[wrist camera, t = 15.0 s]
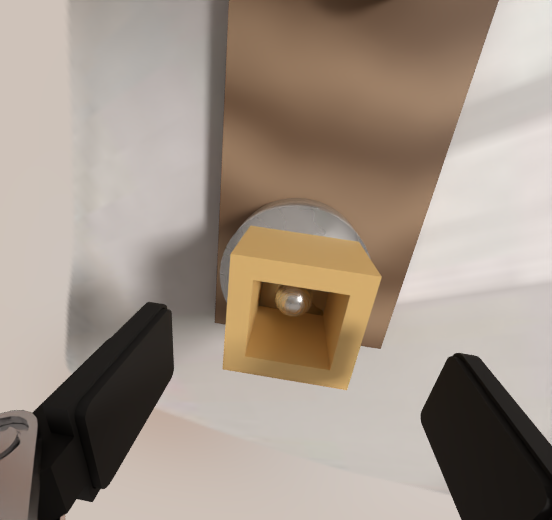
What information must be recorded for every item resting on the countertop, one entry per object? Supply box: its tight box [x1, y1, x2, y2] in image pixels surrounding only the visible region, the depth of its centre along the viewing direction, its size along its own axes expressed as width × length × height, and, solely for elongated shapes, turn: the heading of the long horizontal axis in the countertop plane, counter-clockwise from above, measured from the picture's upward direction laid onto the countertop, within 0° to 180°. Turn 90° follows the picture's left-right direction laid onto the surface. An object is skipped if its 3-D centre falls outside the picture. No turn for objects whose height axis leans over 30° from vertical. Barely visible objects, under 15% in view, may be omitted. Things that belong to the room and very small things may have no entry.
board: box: [215, 0, 499, 349], centre depth 16 cm, size 29×13×2 cm, turn 173°
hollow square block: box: [223, 226, 382, 390], centre depth 14 cm, size 6×6×4 cm
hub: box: [220, 198, 371, 317], centre depth 16 cm, size 9×9×6 cm
